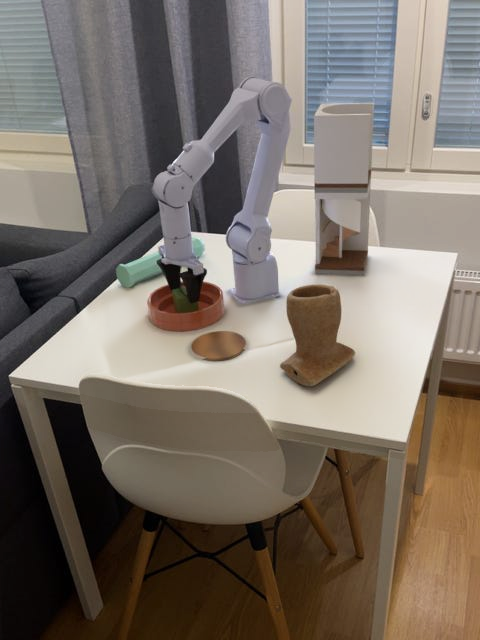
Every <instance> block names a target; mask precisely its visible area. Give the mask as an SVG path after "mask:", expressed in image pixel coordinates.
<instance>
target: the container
mask: <svg viewBox="0 0 480 640" xmlns="http://www.w3.org/2000/svg"><path fill="white" fill-rule="evenodd" d="M192 244H193V252H194V253H195V255H196V256H197V258H199V257H201V256H202V255H203V254H204V252H205V249H206V248H205V247H206V246H205V243H204V241H203V240H202V239H201V238H199V237H194V236H192ZM159 259H162V256H160V255H159V250H157V251H155V252H152V253H150V254H148V255H145V256H143V257H140V258H138V259H135V260H133V261H129V262H128V263H125V264H124V263H120V264H118V265H117V267H116V268H115V274H116V279H117V280H118V282H119V284H120V285H121V287H123V288H126V287H127V288H131V287H133V286H134V285H136V284H138V283H140V282H143V281H146V280H148V279H150V278H153V277H155V276H157V275H160V274H162V273H163V272H162V270H161V268H160V267H159V266H158V264H157V262H156V261H157V260H159Z"/></svg>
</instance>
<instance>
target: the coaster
mask: <svg viewBox="0 0 480 640" xmlns="http://www.w3.org/2000/svg"><path fill="white" fill-rule="evenodd" d="M190 345H191V347H190V348H191V351H192V352H193V353H194V354H195V355H196V356H199V357H201V358H202V360H204V361H210V362H222V361H227V360H230V359H233V358H237V357H238V356H239V355H241V354H242V353H244V352H245V349H246V345H247V341H246V339H245V338H244V336H243V335H241V334H239V333H238V332H234V331H228V330H217V331H211V332H206V333H203V334H201V335H199V336H197V337H196V338H195V339H194V340H193V341H192V343H191V344H190Z"/></svg>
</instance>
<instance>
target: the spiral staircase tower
mask: <svg viewBox="0 0 480 640" xmlns="http://www.w3.org/2000/svg"><path fill="white" fill-rule="evenodd" d="M374 110H375V102H347V103H346V102H345V103H344V102H343V103H342V102H341V103H320V105H319V107H318V108H317V110H316V111H315V113H314V114H313V139H314V140H313V147H314V149H313V151H314V152H313V154H314V156H313V160H314V161H313V162H314V163H313V164H314V165H313V170H314V174H313V175H314V178H313V179H314V180H313V181H314V200H315V201H314V203H315V204H314V205H315V206H314V207H315V212H314V213H315V217H314V218H315V219H314V220H315V221H314V222H315V264H314V275H334V276H360V277H361V276H365V273H366V267H367V262H368V258H369V238H370V237H369V236H370V214H371V211H370V208H371V187H372V186H371V185H372V165H373V163H372V162H373V138H374V118H375V117H374V115H375V111H374Z"/></svg>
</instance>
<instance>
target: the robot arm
mask: <svg viewBox="0 0 480 640" xmlns="http://www.w3.org/2000/svg"><path fill="white" fill-rule="evenodd" d="M292 100H293V99H292V97H291V95H290V94H289V92H288V90H287V88H286V87H285V86H284V85H283V84H282V83H280V82H277V81H269V80H266V79H263V78H259V77H257V76H248V77H246V78H245V79H243V80H242V81H241V82H240V84H239V86H238V87H236V88H235V89H234V90H233V91H232V93H231V97H230V99H229V101H228V103H227V104H226V105H225V106H224V108H223V109H222V111H221V112H220V113H219V115H217V117H216V119H215V120H214V121H213V123H212V124H211V125H210V127H209V128H208V129H207V131H206V132H205V134H204V135H202V138H201V139H198V140H197V139H196V140H191V141H190V142H189V143H187V142H186V143H185V144H184V145H183V146H182V152H181V153H180V154H179V155H178V156H177V158H176V159H175V160H174V161H173V162H172V164H171V163H170V164H169V165H168V166H167V167H166V169H167V170H164V171H161V172H159V174H157V175H156V176H155V178H154V182H153V184H152V187H151V188H150V189H151V193H152V195H153V196H154V198H156V199H157V201H158V207H159V216H160V223H161V231H162V237H163V244H161V245H158V246H157V249H158V250H157V251H159V255H160V256H162V259H159V260H157V261H156V262H157V264H158V266H159V267H160V268H161V270H162V273H163V275H164V278H165V280H166V283H167V285H169V288H170V290H171V291H172V290H173V289H177V288H180V286H181V281H183V283H184V285H185V288H186V292H187V296H188V300H189V302H190V303H194V302H197V301H199V299H200V292H201V287H202V283H203V281H204V280H205V278H206V276H207V274H208V269H207V268H205V267H204V263H203V262H201V261H200V259H199V257H197V256H196V255H195V253H194V252H193V244H192V237H193V236H192V228H191V227H192V226H191V218H190V210H189V203H188V202H190V201H191V199H192V196H193V189H194V187H195V185H196V184H197V183H198V182H199V181H200V179H202V177H203V176H204V175H205V174H206V173H207V171H208V170H209V169H210V168H211V166H212V165H213V164H214V162H215V153H216V151H218V149H219V148H220V147H221V146H222V145H223V144H224V143H225V142H226V141H227V140H228V139H229V138H230V137H231V135H233V133H234V132H236V131H237V130H238V128H239V127H241V125H242V124H244V123H250V122H251V123H252V122H255V123H256V125H257V127H258V128H259V130H260V132H261V135H260V139H259V142H258V145H257V146H258V147H257V151H256V154H255V158H254V164H253V167H252V170H251V175H250V178H249V183H248V186H247V190H246V194H245V197H244V202H243V206H242V209H241V210H240V211H239V212H238V213H236V214H235V215H234V216H233V221H232V223H231V225H230V226H229V227H228V229H227V230H226V234H225V242H226V245H227V247H228V248H229V249H230V250H231V255H232V266H233V267H232V268H233V279H234V280H233V281H234V288H230V289H229V292H230V293H231V294H232V296H234V298H235V299H236V300H237V301H238V303H239V304H245V303H250V302H255V301H260V300H265V299H270V298H272V297H274V298H279V297H281V294H280V291H279V290H280V289H279V268H278V262H277V259H276V257H275V255H274V254H273V253H272V252H271V249H272V241H271V236H272V233H273V229H272V225H271V223H270V221H269V218H268V216H269V213H270V208H271V205H272V202H273V197H274V193H275V189H276V186H277V183H278V179H279V174H280V172H281V167H282V165H283V164H282V163H283V160H284V157H285V152H286V148H287V145H288V142H289V138H290V134H291V118H290V108H291V105H292ZM182 267H184V268H185V269H186V270H185V271H183V272H181V270H182V269H181V268H182Z"/></svg>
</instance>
